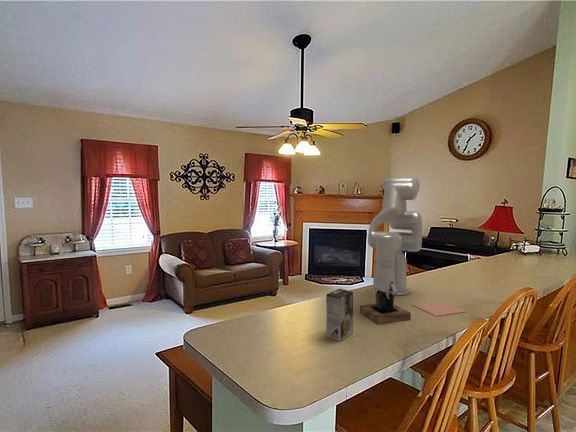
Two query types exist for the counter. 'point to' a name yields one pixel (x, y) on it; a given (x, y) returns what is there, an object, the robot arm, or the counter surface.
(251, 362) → the counter surface
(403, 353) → the counter surface
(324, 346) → the counter surface
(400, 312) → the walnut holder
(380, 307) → the supplement bottle
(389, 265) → the robot arm
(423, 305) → the terracotta mat
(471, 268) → the counter surface
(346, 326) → the coffee box
